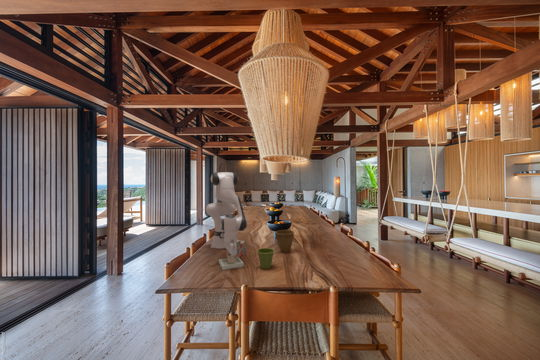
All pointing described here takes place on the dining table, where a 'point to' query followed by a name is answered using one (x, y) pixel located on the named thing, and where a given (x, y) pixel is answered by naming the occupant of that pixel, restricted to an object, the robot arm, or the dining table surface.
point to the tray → (231, 264)
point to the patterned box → (239, 248)
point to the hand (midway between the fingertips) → (230, 258)
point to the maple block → (230, 258)
